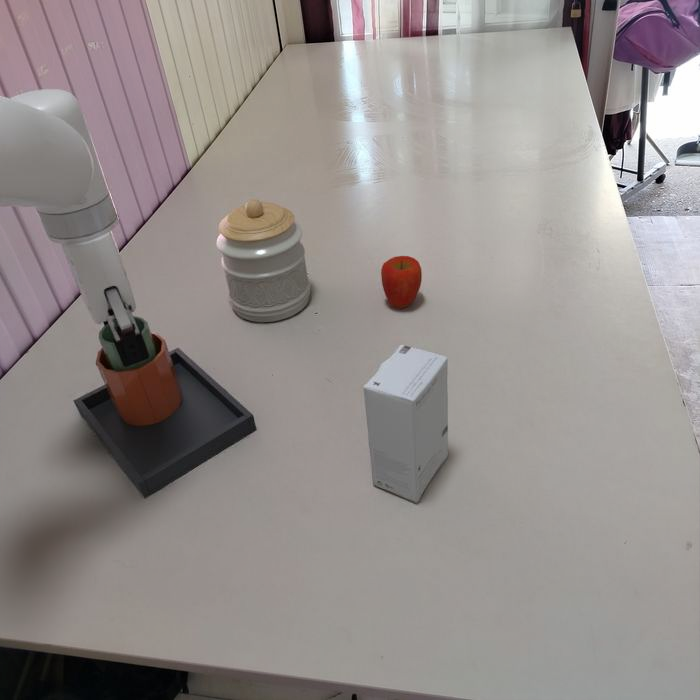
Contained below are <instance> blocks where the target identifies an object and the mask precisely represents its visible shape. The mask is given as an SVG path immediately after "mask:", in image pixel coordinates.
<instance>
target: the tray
mask: <svg viewBox="0 0 700 700" xmlns="http://www.w3.org/2000/svg"><path fill="white" fill-rule="evenodd" d="M169 354H170V357H171V360H172V363H173V366H174V369H175V372H176V375H177V378H178V381H179V384H180V387H181V393H182V401H181V404H180V406H179V408H178V409H177V410H176V411H175V412H174V413H173V414H172V415H171V416H169V417H168V418H166V419H164V420H163V421H160V422H158V423H155V424H151V425H146V426H135V425H130V424H128V423H126V422H124V421H123V420H122V419H121V418H120V416H119V414H118V413H117V411H116V409H115V407H114V404H113V402H112V400H111V397H110V395H109V393H108V390H107V388H106V386H105V384H103V385H102V386H98V387H97V388H95V389H93V390H91V391H89V392H87V393H85V394H83V395H82V396H79V397H77V398H75V399H74V400H73V403H74V405H75V407H76V409H77V411H78V413H79V415H80V417H81V418H82V420H84V422H85V423H86V424H87V425H88V427H89V428H90V429H91V431H92V433H94V435H96V438H97V439H98V440H99V441H100V443H101V444H102V445H103V446H104V448H105V449H106V450H107V452H108V453H109V454H110V456H111V457H112V458H113V460H114V461H115V462H116V463H117V465H118V466H119V467H120V469H121V470H122V471H123V472H124V474H125V475H126V476H127V478H128V479H129V480H130V482H131V483H132V484H133V486H134V487H135V488H136V489H137V491H138V492H139V494H140V495H141V496H142V497H143V499H146V498H148V497H149V496H151V495H153V494H154V493H156V492H158V491H159V490H161V489H163V488H165V486H168V485H169V484H170V483H172V482H174V481H175V480H177V479H179V478H181V477H183V476H184V475H185V474H187V473H189V472H190V471H191V470H194V469H195V468H196V467H198V466H200V465H201V464H203V463H205V462H206V461H208V460H209V459H211V458H213V457H214V456H216V455H217V454H219V453H221V452H223V451H224V450H226V449H227V448H229V447H231V446H232V445H234V444H235V443H237V442H239V441H241V440H242V439H244V438H245V437H247V436H248V435H250V434H251V433H253V432H255V431H256V430H257V424H256V421H255V417H254V414H253V413H252V412H251V411H249V409H248V408H246V407H245V406H244V405H243V404H242V403H241V402H239V401H238V400H237V398H235V397H234V396H233V395H232V394H230V393H229V391H228V390H226V389H225V388H224V387H223V386H222V385H220V383H219V382H218V381H216V380H215V379H214V378H213V377H212V376H211V375H210V374H209V373H207V372H206V371H205V370H204V369H203V368H202V367H201V366H199V365H198V364H197V363H196V362H195V361H194V360H193V359H192V358H191V357H189V356H188V355H187V354H186V353H185V352H184V351H183V350H182V349H181V348H179V347H175V348H174V349H172V350H170V351H169Z"/></svg>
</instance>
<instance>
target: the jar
mask: <svg viewBox="0 0 700 700" xmlns="http://www.w3.org/2000/svg"><path fill="white" fill-rule="evenodd" d="M295 220H296V219H295V215H294V213H293V212H292V211H291V210H290V209H288V208H287V207H284V206H281V205H279V204H277V203H273V202H267V201H266V202H264V201H260V200H259V199H257V198H251V199H249V200H247V201H246V203H245V204H244V205H241V206H239V207H237V208H235V209H233V210H231V211H230V212H229V214H227V215H226V216H225V217H223V219H222V220H220V223H219V224H218V231H219V235H218V237H217V238H216V247H217V250H219V252H220V253H221V254H222V257H221V262H220V263H221V267H222V269H223V271H224V275H225V279H226V283H227V289H228V297H229V301H230V304H231V307H232V308H233V310H234V312H235V313H236V314H237V316H239V317H240V318H242V319H244V320H247V321H250V322H256V323H271V322H272V323H273V322H277V321H282V320H285V319H288V318H290V317H293V316H295V315H296V314H298V313H299V312H301V311H302V310H303V309H304V308H305V307H306V306H307V305H308V303H309V301H310V295H311V294H310V293H311V283H310V280H309V278H308V272H307V270H308V269H307V265H306V257H305V254H306V249H305V247H304V245H303V243H302V242H301V239H302V236H303V229H302V226H300V224H299V223H298V222H297V221H295Z"/></svg>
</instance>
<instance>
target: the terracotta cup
mask: <svg viewBox="0 0 700 700" xmlns="http://www.w3.org/2000/svg"><path fill="white" fill-rule="evenodd" d="M150 332H151V335H152V337H153V340H154V343H155V346H156V349H157V352H158V355H157V356H156V357H155V358H154V359H153V360H152V361H151V362H149V363H147V364H145V365H143V366H141V367H139V368H137V369H132V370H127V371H121V372H118V371H113V370H111V367H110V365H109V362H108V360H107V358H106V355H105V353H104V350H103V348H102V347H101V348H100V349H99V350H98V351H97V355H96V359H95V365H96V367H97V369H98V372H99V375H100V376H101V378H102V381H103V383H104V385H105V386H106V388H107V390H108V393H109V395H110V397H111V400H112V402H113V404H114V407H115V409H116V411H117V413H118V414H119V416H120V418H121V419H122V420H123V421H124V422H126V423H128V424H130V425H135V426H146V425H151V424H155V423H158V422H160V421H163V420H164V419H166V418H168V417H169V416H171V415H172V414H173V413H174V412H175V411H176V410H177V409H178V408H179V406H180V404H181V401H182V393H181V387H180V384H179V381H178V378H177V375H176V372H175V369H174V366H173V363H172V360H171V357H170V354H169V352H170V351H169V348H168V345H167V342H166V339H165V338H163V336H161V335H160V334H159V333H158V332H155V331H154V332H153V331H150Z"/></svg>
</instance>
